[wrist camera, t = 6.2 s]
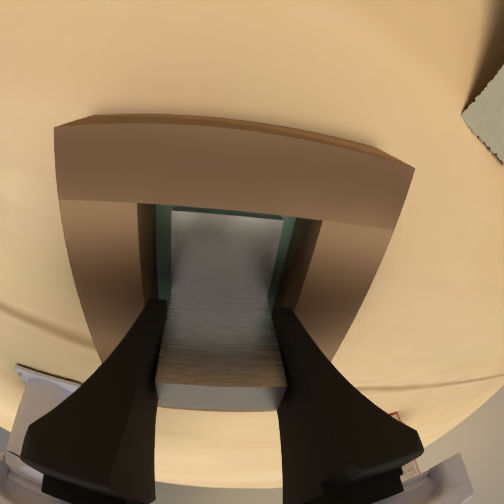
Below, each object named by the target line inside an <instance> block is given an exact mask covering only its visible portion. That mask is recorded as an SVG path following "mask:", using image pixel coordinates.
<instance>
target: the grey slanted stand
mask: <svg viewBox="0 0 504 504" xmlns="http://www.w3.org/2000/svg"><path fill="white" fill-rule="evenodd" d="M475 100H476V101H475V102H472V104H470V105H469V107H468V109H467V110H465V111H464V112H463V113H462V114H461V115H462V116H461V117H462V118H463V120H464V122H465V124H466V126H469V127H470V128H469V129H472V132H473V133H474V134H475V135H476V136H480V137H479V139H480V140H482V142H483V143H484V142H485V143H486V144H485V145H487V146H488V147H491V148H490V150H491V151H492V152H493V154H495V153H497V157H498V158H499V159H500V160H502V161H503V163H504V65H503V67H502V68H501V69H500V70H498V74H497V75H495V78H493V80H491V81H490V82H489V83H488V84H487V87H485V88H484V90H483V91H482V92H481V94H480V95H478V96H477V97H476V98H475Z"/></svg>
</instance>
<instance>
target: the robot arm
mask: <svg viewBox="0 0 504 504" xmlns="http://www.w3.org/2000/svg"><path fill="white" fill-rule="evenodd" d="M166 315H167V303H166V300H162V299H152V298H151V299H149V300H148V301H147V303H146V305H145V306H144V308H143V310H142V311H141V313H140V314H139V316H138V317H137V319H136V320H135V322H134V323H133V325H132V326H131V328H130V329H129V330H128V332H127V333H126V335H125V336H124V337H123V339H122V340H121V341H120V343H119V344H118V345H117V346H116V348H115V349H114V350H113V351H112V353H111V354H110V355H109V356H108V358H107V359H106V360H105V361H104V362H103V363H102V365H101V366H100V367H99V368H98V369H97V370H96V371H95V372H94V373H93V374H92V375H91V376H90V377H89V378H88V379H87V380H86V381H85V382H84V383H83V384H82V385H80V384H78V383H75V382H71V381H67V380H64V379H60V378H56V377H53V376H49V375H46V374H43V373H40V372H36V371H33V370H30V369H27V368H24V367H21V366H19V365H15V367H14V369H15V371H16V372H17V373H18V375H19V376H20V377H21V379H22V380H23V381H24V383H25V384H26V388H25V391H24V394H23V396H22V399H21V402H20V405H19V408H18V411H17V414H16V417H15V421H14V424H13V427H12V431H11V434H10V438H9V442H8V446H7V451H5V452H4V453H3V454H2V453H1V452H0V504H150V503H151V502H153V501H154V500H155V499H156V497H155V475H154V448H155V423H156V412H157V405H158V399H159V398H158V394H157V389H156V384H155V379H156V372H157V366H158V360H159V354H160V348H161V342H162V336H163V331H164V325H165V320H166ZM272 320H273V324H274V328H275V333H276V337H277V341H278V345H279V350H280V354H281V358H282V363H283V367H284V371H285V376H286V380H287V384H288V387H287V389H286V392H285V394H284V396H283V398H282V400H281V403H280V405H279V407H278V409H277V413H278V419H279V430H280V440H281V454H282V474H283V504H462V503H464V502H465V501H466V500H468V499H469V498H470V497H472V496H473V495H474V491H473V488H472V485H471V482H470V479H469V476H468V473H467V470H466V468H465V465H464V462H463V459H462V457H461V454H460V453H457V454H456V455H454V456H452V457H450V458H449V459H447V460H445V461H443V462H441V463H439V464H438V465H436V466H434V467H432V468H430V469H429V470H428V471H426V472H424V473H421V474H419V475H417V476H415V477H413V478H410V479H408V480H406V481H403V482H401V479H400V476H401V475H403V470H402V466H404V465H406V464H408V463H409V462H411V461H413V460H414V459H416V458H418V457H419V456H421V455H422V454H423V452H424V448H423V445H422V443H421V440H420V437H419V435H418V433H417V431H416V430H414V429H413V428H411V427H409V426H407V425H405V424H404V423H402V422H400V421H398V420H397V419H395V418H393V417H392V416H390V415H389V414H387V413H386V412H385V411H383V410H382V409H380V408H379V407H378V406H376V405H375V404H374V403H372V402H371V401H370V400H369V399H368V398H366V397H365V396H364V395H363V394H361V393H360V392H359V391H358V390H357V389H356V388H355V387H354V386H353V385H351V384H350V383H349V382H348V381H347V380H346V379H345V378H344V377H343V376H342V374H341V373H340V372H339V371H338V370H337V369H336V368H335V367H334V366H333V364H332V363H331V362H330V361H329V360H328V359H327V357H326V356H325V355H324V354H323V352H322V351H321V350H320V348H319V347H318V346H317V344H316V343H315V342H314V340H313V339H312V338H311V336H310V335H309V334H308V332H307V331H306V329H305V328H304V326H303V325H302V323H301V322H300V320H299V319H298V318H297V316H296V315H295V313H294V312H293V310H292V309H291V308H286V307H275V310H274V314H273V317H272Z"/></svg>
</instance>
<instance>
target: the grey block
mask: <svg viewBox="0 0 504 504" xmlns="http://www.w3.org/2000/svg"><path fill="white" fill-rule="evenodd" d="M283 222H284V220H283V218H282V216H281V215H273V214H264V213H254V212H244V211H234V210H223V209H212V208H200V207H188V206H175V205H174V207H173V209H172V218H171V295H170V300H169V305H168V310H167V315H166V320H165V325H164V331H163V336H162V342H161V348H160V354H159V360H158V366H157V372H156V379H155V384H156V389H157V394H158V398H159V403H160V406H168V407H179V408H192V409H212V410H265V409H278V407H279V405H280V403H281V400H282V398H283V396H284V394H285V392H286V389H287V387H288V384H287V380H286V376H285V371H284V367H283V363H282V358H281V354H280V350H279V345H278V341H277V337H276V333H275V328H274V324H273V320H272V315H271V311H270V307H269V303H268V298H267V297H268V292H269V288H270V283H271V279H272V274H273V269H274V265H275V260H276V255H277V251H278V246H279V241H280V236H281V232H282V227H283Z"/></svg>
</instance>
